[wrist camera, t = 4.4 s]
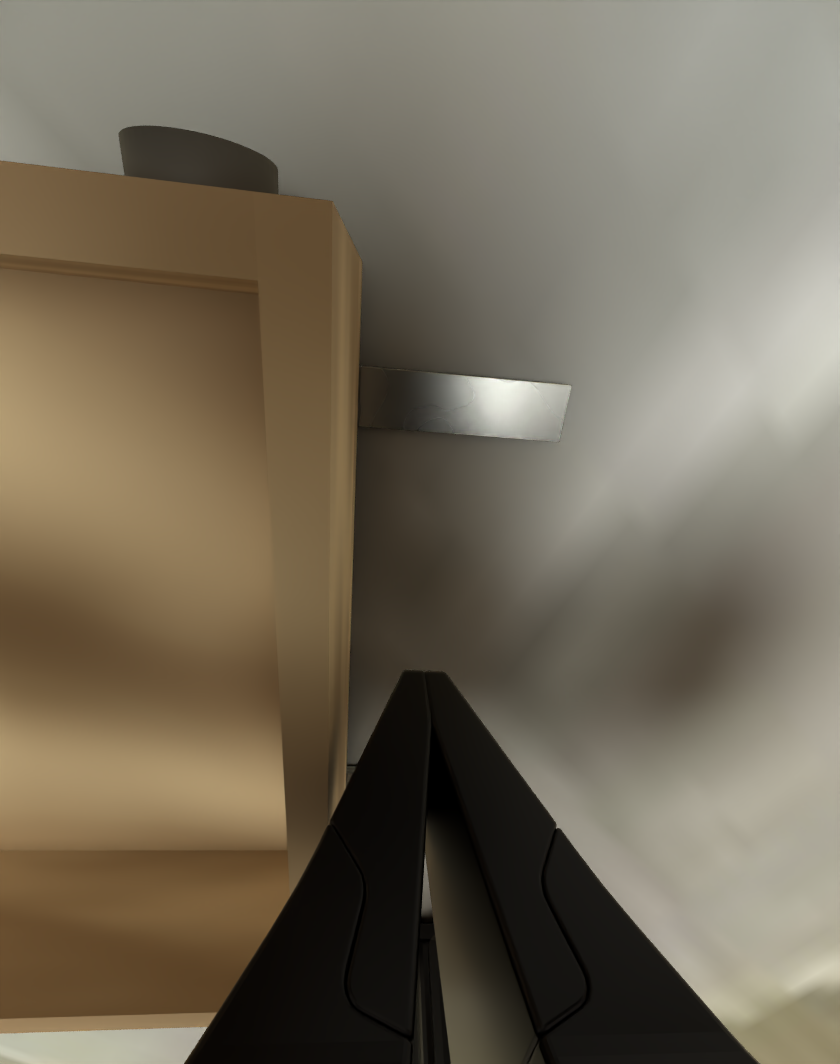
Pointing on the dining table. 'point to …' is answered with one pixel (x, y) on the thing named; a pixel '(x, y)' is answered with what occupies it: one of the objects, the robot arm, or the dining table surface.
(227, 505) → the shallow wooden tray
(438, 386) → the rails
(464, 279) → the dining table surface
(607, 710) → the dining table surface
